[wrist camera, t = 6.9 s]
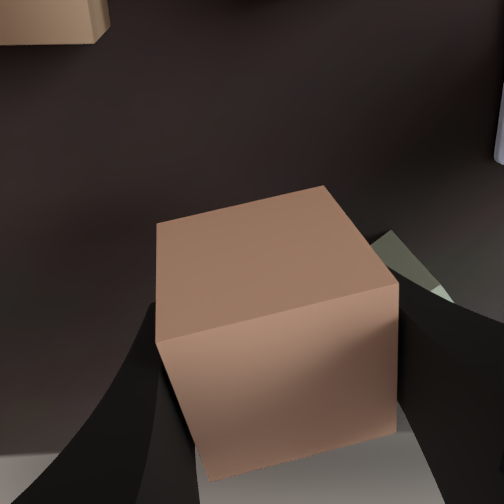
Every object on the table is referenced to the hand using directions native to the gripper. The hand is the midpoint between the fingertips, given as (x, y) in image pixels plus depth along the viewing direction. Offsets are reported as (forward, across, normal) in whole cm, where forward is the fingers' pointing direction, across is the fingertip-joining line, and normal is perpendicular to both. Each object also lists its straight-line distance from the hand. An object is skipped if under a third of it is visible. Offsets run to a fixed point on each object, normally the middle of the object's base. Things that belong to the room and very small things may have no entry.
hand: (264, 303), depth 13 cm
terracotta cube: (+2, 0, 0) cm, 2 cm away
